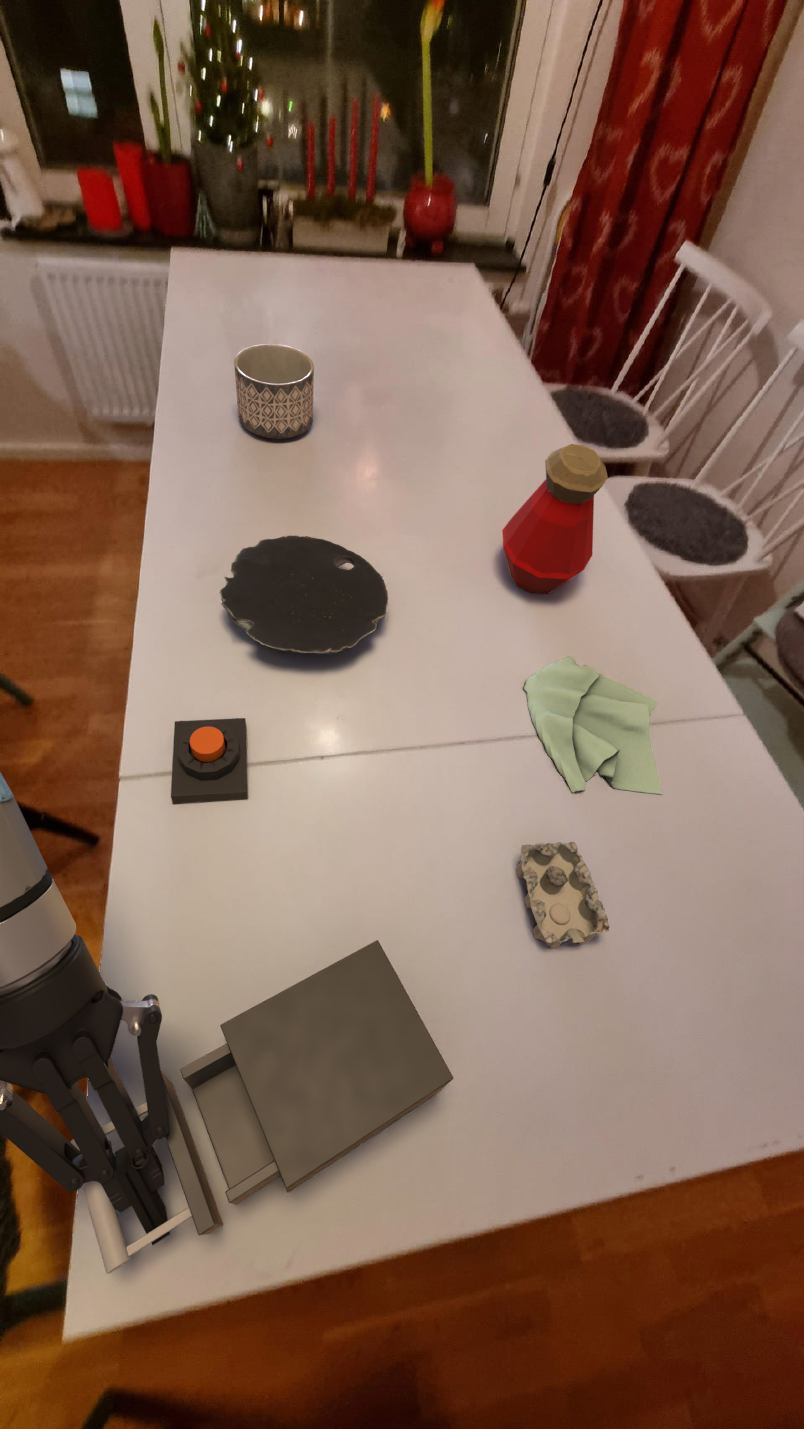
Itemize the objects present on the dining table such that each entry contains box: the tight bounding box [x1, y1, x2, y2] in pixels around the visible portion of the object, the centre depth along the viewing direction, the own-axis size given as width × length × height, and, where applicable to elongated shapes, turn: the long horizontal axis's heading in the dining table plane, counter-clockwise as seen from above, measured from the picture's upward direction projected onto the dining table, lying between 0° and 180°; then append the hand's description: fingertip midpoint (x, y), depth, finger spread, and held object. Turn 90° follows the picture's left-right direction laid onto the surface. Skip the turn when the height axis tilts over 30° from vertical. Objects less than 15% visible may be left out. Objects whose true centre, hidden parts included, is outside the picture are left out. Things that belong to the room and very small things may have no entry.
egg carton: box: [515, 841, 610, 949], centre depth 73 cm, size 11×8×4 cm
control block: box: [170, 717, 249, 805], centre depth 78 cm, size 10×8×4 cm
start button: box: [190, 727, 225, 762], centre depth 76 cm, size 4×4×2 cm
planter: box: [233, 343, 315, 440], centre depth 116 cm, size 13×13×10 cm
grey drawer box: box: [220, 939, 454, 1193], centre depth 59 cm, size 15×13×9 cm
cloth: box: [522, 655, 663, 796], centre depth 88 cm, size 20×22×2 cm
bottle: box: [501, 443, 609, 596], centre depth 98 cm, size 16×14×20 cm
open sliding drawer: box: [70, 1043, 281, 1275], centre depth 55 cm, size 20×11×7 cm, turn 120°
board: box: [219, 535, 389, 654], centre depth 93 cm, size 22×22×5 cm
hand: (159, 1225), depth 52 cm, fingers closed
